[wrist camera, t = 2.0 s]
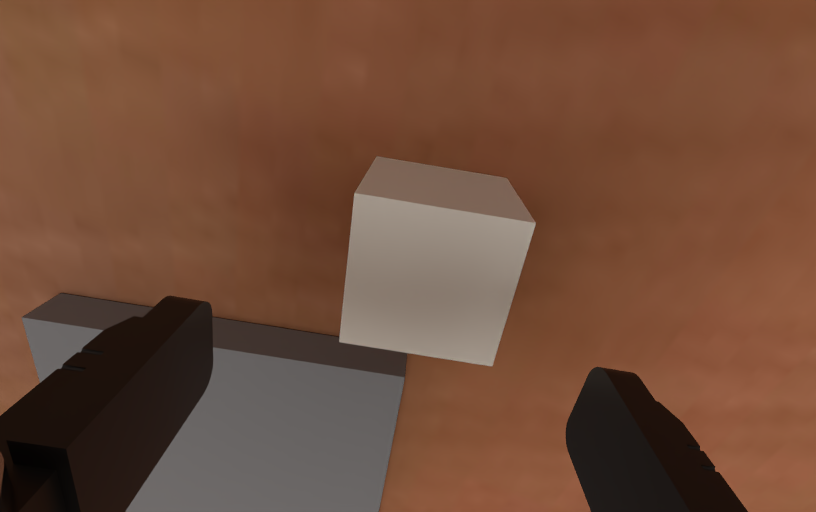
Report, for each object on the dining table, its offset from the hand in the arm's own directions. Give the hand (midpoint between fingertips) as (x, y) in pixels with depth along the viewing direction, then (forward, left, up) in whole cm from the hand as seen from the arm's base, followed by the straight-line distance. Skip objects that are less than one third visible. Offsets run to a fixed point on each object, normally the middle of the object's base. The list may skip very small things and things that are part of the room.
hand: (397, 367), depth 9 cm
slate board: (+7, +13, -9) cm, 17 cm away
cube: (-1, 0, -9) cm, 9 cm away
